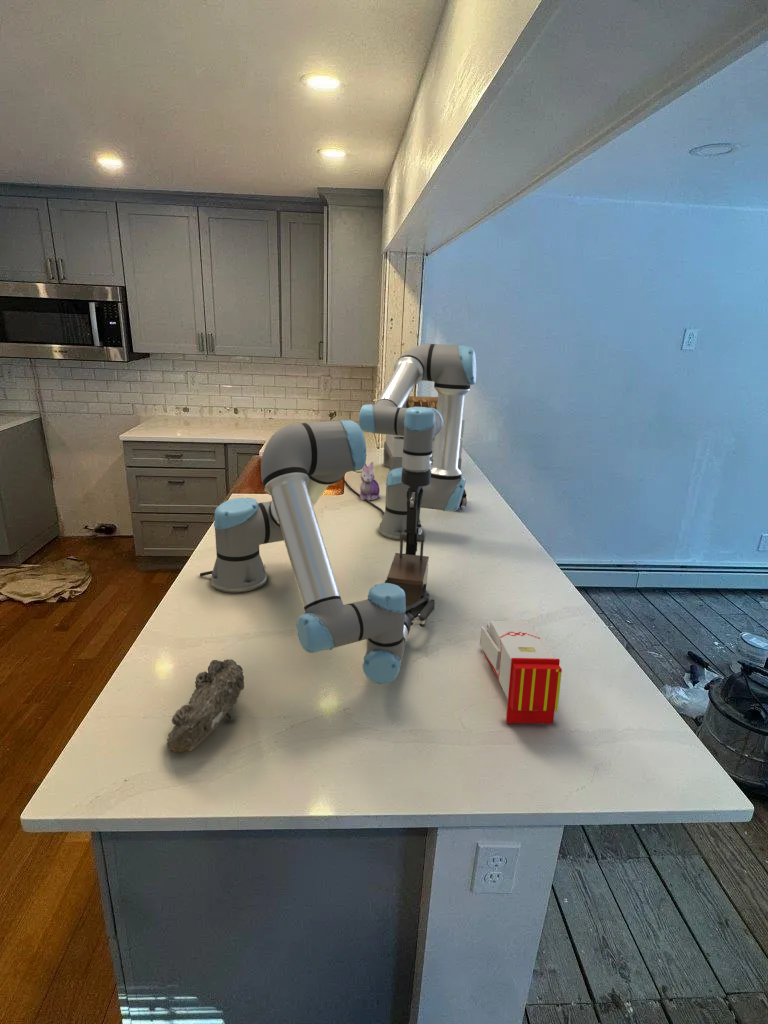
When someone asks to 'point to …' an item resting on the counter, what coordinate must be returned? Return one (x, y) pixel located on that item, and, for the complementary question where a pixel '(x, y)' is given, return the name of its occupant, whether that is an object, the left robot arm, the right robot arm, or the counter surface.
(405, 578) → the lid
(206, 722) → the fossil
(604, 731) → the counter surface
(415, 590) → the chest
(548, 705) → the toy
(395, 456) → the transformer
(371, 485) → the figurine
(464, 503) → the figurine character
